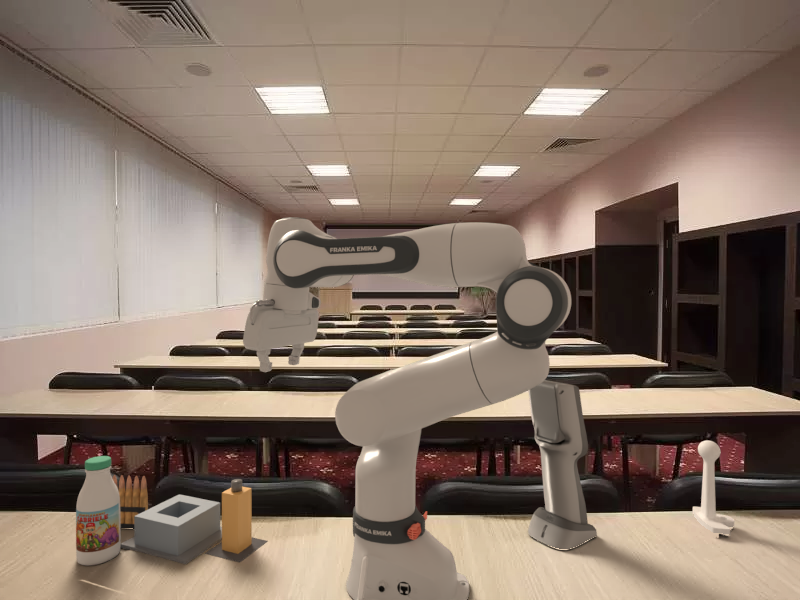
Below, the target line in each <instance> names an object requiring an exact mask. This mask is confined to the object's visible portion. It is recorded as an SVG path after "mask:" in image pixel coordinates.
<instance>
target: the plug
mask: <svg viewBox="0 0 800 600" xmlns="http://www.w3.org/2000/svg"><path fill="white" fill-rule="evenodd" d="M230 486H231V487H230V488H228V489H226V490H224V491H223V492H221V527H222V540H221V542H222V550H225V551H229V552H233V553H237V554H239V553H240V552H242V551H243V550H244V549H246V548H247V547H248V546H250V545H251V544H252V537H253V536H252V533H253V532H252V526H253V524H252V520H253V519H252V510H253V509H252V505H253V504H252V487H247V486H243V479H241V478H234V479H232V480H231V482H230Z"/></svg>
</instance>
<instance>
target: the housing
mask: <svg viewBox="0 0 800 600" xmlns="http://www.w3.org/2000/svg"><path fill="white" fill-rule="evenodd" d="M221 542H222V526H221V502H219V501H215V500H208V499H203V498H201V497H200V498H199V497H194V496H190V495H184V494H177V495H175V496H173V497H171V498H168V499H166V500H165V501H162V502H160V503H158V504H157V505H155V506H152V507H149V509H148V510H146V511H144V512H142V513H140V514H138V515H136V516H134V536H133V537H131V538H129V539H127V540H125V541H123V542H122V543H121V548H120V549H123V548H124V550H127V551H130V550H132V551H135V552H140V553H142V554H147V555H150V556H154V557H156V558H162V559H165V560H168V561H171V562H175V563H176V562H177V563H179V564H183V565H187V564H188V563H190V562H191V561H192V560H194V559H195V558H197V557H199V556H200V555H202V554H203V553H206V552H207V551H209V550H210V549H212V548H213V547H215V546H216V545H218V544H219V543H221Z"/></svg>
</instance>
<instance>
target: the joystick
mask: <svg viewBox="0 0 800 600" xmlns="http://www.w3.org/2000/svg"><path fill="white" fill-rule="evenodd" d="M697 453H698V454H699V456H700V457H701V458H702V459H703V466H702V482H701V497H700V499H701V500H700V501H701V503H700V506H692V515H693V514H694V517H695V518H696V519H697V521H698V522H699V523H700V524H701V525H702V526H704V527H705V528H706V529H708V530H710V531H711V532H713V533H723V534H730V535H731V531H730V528H729V527H733V526H734V527H735V519H734V518H733V517H731V516H729V515H724V514H718V513H716V512H717V511H716V508H717V507H716V481H715V480H716V479H715V462H716V461H717V459H719V457H720V456H721V454H722V453H721V449H720V446H719V445H718V444H717V443H716V442H715V441H713V440H708V439H706V440H703V441H701V442H700V443H699V444H698V446H697Z"/></svg>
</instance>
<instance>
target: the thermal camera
mask: <svg viewBox="0 0 800 600" xmlns="http://www.w3.org/2000/svg"><path fill="white" fill-rule="evenodd" d="M527 392H528V398H529V399H528V401H529V410H530V416H531V421H532V425H533V428H534V429H533V430H534V440H535V442H536V444H537V445H538V446H539V450H540V462H541V474H542V475H541V477H542V486H543V498H544V504H545V505H544V507H541V506H540V507H538V508H537V509H535V511H534V512H533V514H532V516H531V519H530V522H529V525H528V528H527V533H528V536H529V535H530V536H531V537H530V536H529V537H530V538H532V537H533V538H534V539H533V538H532V539H533V540H535V539H536V540H538V541H540V542H542V543H544V544H546V545H549V546H552V547H555V548H559V549H570V548H573V547H576V546H578V545H580V544H582V543H584V542H585V541H587V540H589V539H591V538H593V537H595V536H596V537H597V536H598V533H597V532H598V531H597V528H595V526H594V525H593V524H590V523H589V522H588V521H589V520H588V513H587V507H586V501H585V496H584V491H583V487H582V483H581V479H580V475H579V469H578V461H579V459H581V458H583V457H585V456H586V455H587V453H588V450H589V443H588V436H587V431H586V425H585V419H584V415H583V408H582V398H581V393H580V388H579V386H578V385H575V384H569V383H565V382H564V383H563V382H558V381H552V380H546V379H545V380H544V381H543V382H542V383H541V384H539V385H537V386H535V387H534V388H532V389H530V390H528V391H527ZM536 540H535V541H536ZM538 541H537V542H538ZM540 542H539V543H540ZM542 543H541V544H542ZM544 544H543V545H544ZM584 544H585V543H584ZM546 545H545V546H546ZM582 545H583V544H582ZM580 546H581V545H580ZM578 547H579V546H578ZM576 548H577V547H576Z"/></svg>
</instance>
